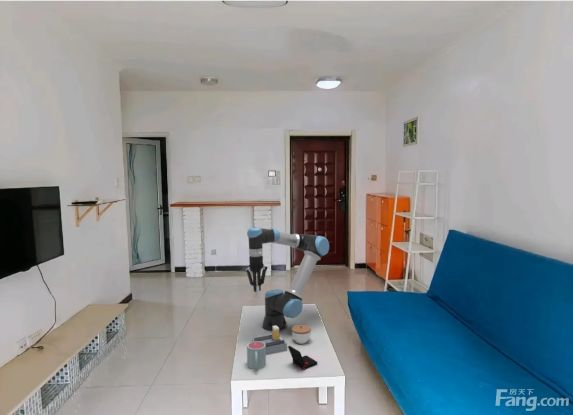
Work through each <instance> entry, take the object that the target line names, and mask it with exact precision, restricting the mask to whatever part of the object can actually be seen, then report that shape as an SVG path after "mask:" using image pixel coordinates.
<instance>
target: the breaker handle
mask: <svg viewBox="0 0 573 415" xmlns="http://www.w3.org/2000/svg"><path fill="white" fill-rule="evenodd" d="M271 332H272V334H271V335H272V337H271V339H272V340H273V341H279V340H281V339H280V338H279V335H280V330H279V327H278V326H272V331H271Z"/></svg>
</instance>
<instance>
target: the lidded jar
mask: <svg viewBox="0 0 573 415" xmlns="http://www.w3.org/2000/svg"><path fill="white" fill-rule="evenodd" d="M291 331H292V332H291V333H292V338H293V340H294V341H295V343H297V344H299V345H304V344H306V343H308V341H309V340H310V339H311V338H310V337H311V331H312V330H311V327H310V326H308V325H305V324H297V325H294V326H293V327H292V328H291Z"/></svg>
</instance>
